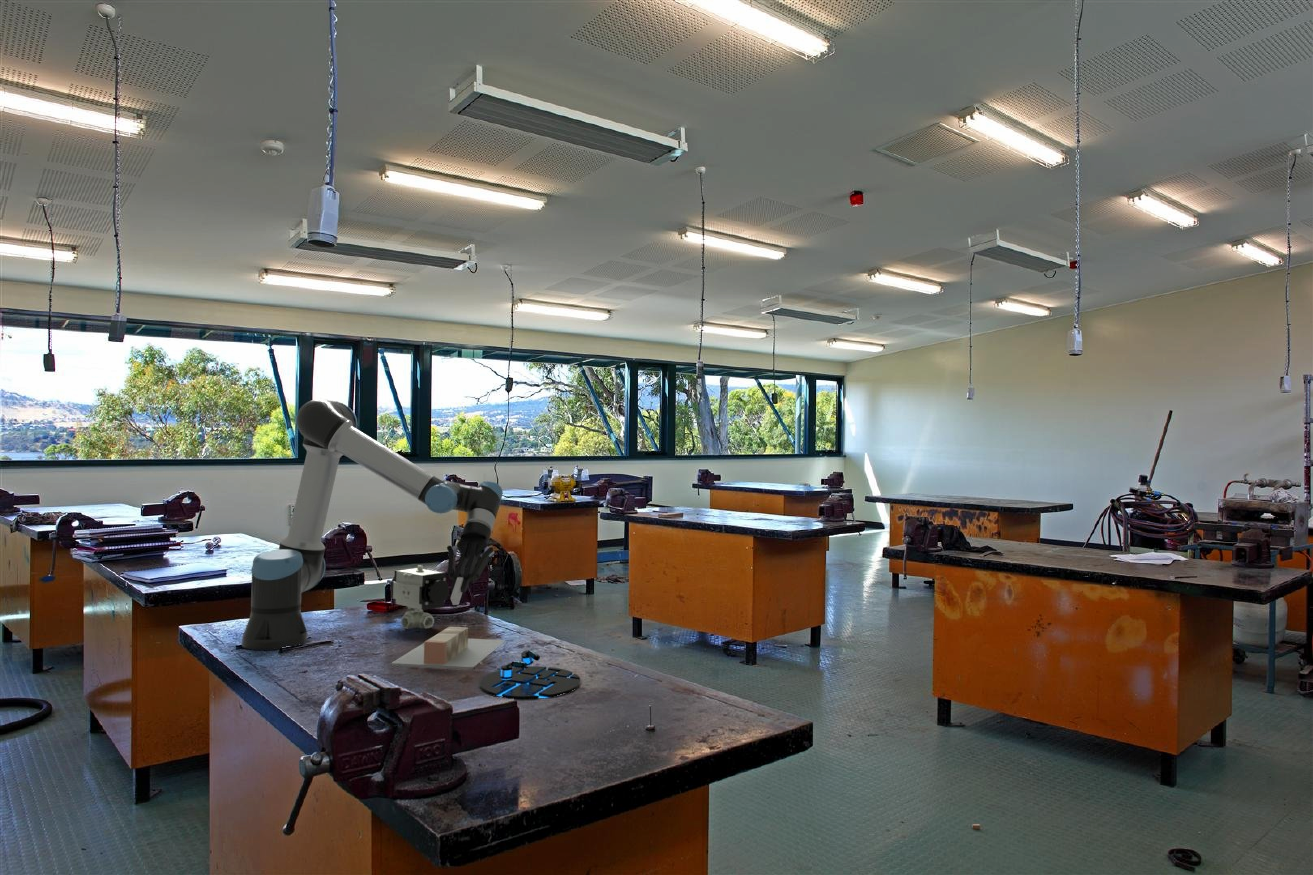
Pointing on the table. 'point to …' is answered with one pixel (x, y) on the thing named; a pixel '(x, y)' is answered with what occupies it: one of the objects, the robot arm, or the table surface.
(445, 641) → the birch block
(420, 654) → the rubber mat
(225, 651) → the table surface
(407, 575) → the ball valve
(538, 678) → the platform
